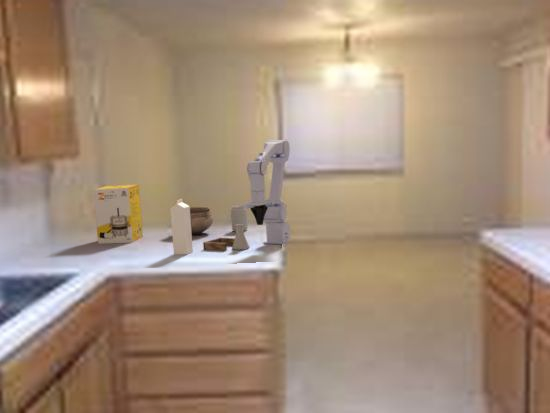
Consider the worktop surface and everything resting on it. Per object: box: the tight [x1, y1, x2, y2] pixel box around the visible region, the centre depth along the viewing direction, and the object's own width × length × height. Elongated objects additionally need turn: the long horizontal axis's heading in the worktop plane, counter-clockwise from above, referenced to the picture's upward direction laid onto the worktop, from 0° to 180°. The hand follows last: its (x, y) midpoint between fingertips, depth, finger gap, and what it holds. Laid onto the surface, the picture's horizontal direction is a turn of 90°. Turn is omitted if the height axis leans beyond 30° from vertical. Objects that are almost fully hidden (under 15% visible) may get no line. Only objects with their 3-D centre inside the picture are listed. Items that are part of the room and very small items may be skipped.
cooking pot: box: [190, 206, 214, 236], centre depth 336 cm, size 25×19×12 cm
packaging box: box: [92, 184, 144, 245], centre depth 330 cm, size 16×16×25 cm
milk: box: [170, 198, 194, 256], centre depth 285 cm, size 6×6×22 cm
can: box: [230, 205, 248, 233], centre depth 339 cm, size 8×8×12 cm
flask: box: [231, 224, 250, 251], centre depth 290 cm, size 7×7×10 cm
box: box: [202, 237, 235, 252], centre depth 295 cm, size 11×12×3 cm
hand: (259, 224), depth 284 cm, fingers closed
